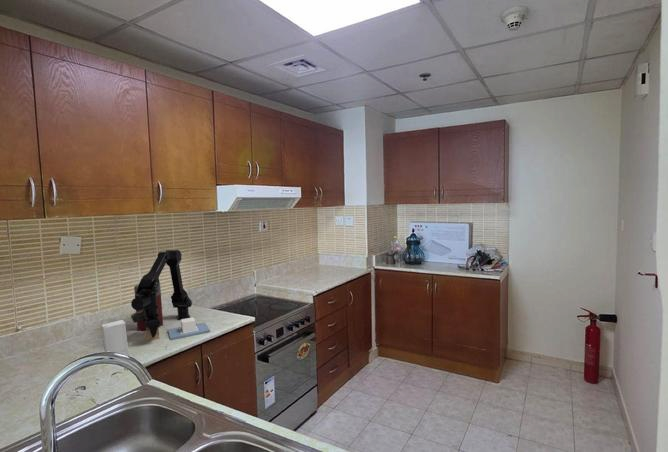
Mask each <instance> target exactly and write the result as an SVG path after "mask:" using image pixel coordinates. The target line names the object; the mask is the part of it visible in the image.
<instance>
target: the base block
mask: <svg viewBox="0 0 668 452" xmlns="http://www.w3.org/2000/svg"><path fill="white" fill-rule="evenodd" d="M196 324H197V323H196V320H195V318H194V317H190V318H186V319H180V327H181V330H182V332H183V333H185V332H190V331H195V330H196Z"/></svg>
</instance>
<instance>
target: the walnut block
mask: <svg viewBox="0 0 668 452" xmlns="http://www.w3.org/2000/svg"><path fill="white" fill-rule="evenodd" d="M159 328H160V327H159ZM159 328H158V329H157V332H156V335H155V337H153V338H152V336H151V332H150V329H149V328H148V327H147V328H146V331H145V332H146V340H147V342H149V341H155V340H159V339H160V330H159Z"/></svg>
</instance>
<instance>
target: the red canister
mask: <svg viewBox="0 0 668 452" xmlns="http://www.w3.org/2000/svg"><path fill="white" fill-rule="evenodd" d="M138 286H139V283H138V284H136V285H135V286H134V287H133V290H134V296H135V295H138V294H136V292H137V289H138ZM157 290H158V292H157V293H156V295H157V306H158V318H159V319H160V324H161V325H159V327H158V328H160V326H161V327H162V326H164V320H163V317H164V316H163V307H162V306H163V303H162V290H161V282H159V285H158V287H157ZM141 310H143V308H142V309H141ZM138 311H140V310H135V313H136V312H138ZM136 326H137V329H136V330H137V332H147V331H146V328H147V327H145V321H144V318H143V319H141V320H139V321H137V322H136Z"/></svg>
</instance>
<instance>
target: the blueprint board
mask: <svg viewBox="0 0 668 452" xmlns="http://www.w3.org/2000/svg"><path fill="white" fill-rule="evenodd" d="M207 333H211V329H210V328H209V326H208V325H207V323H206V322H200V323H196V330H195V331H190V332H185V333H183V332H182V330H181V326H178V327H173V328H168V329H167V334H168V336H169V339H170V341H174V340H178V339H184V338H188V337H192V336H193V337H194V336H198V335H204V334H207Z"/></svg>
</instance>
